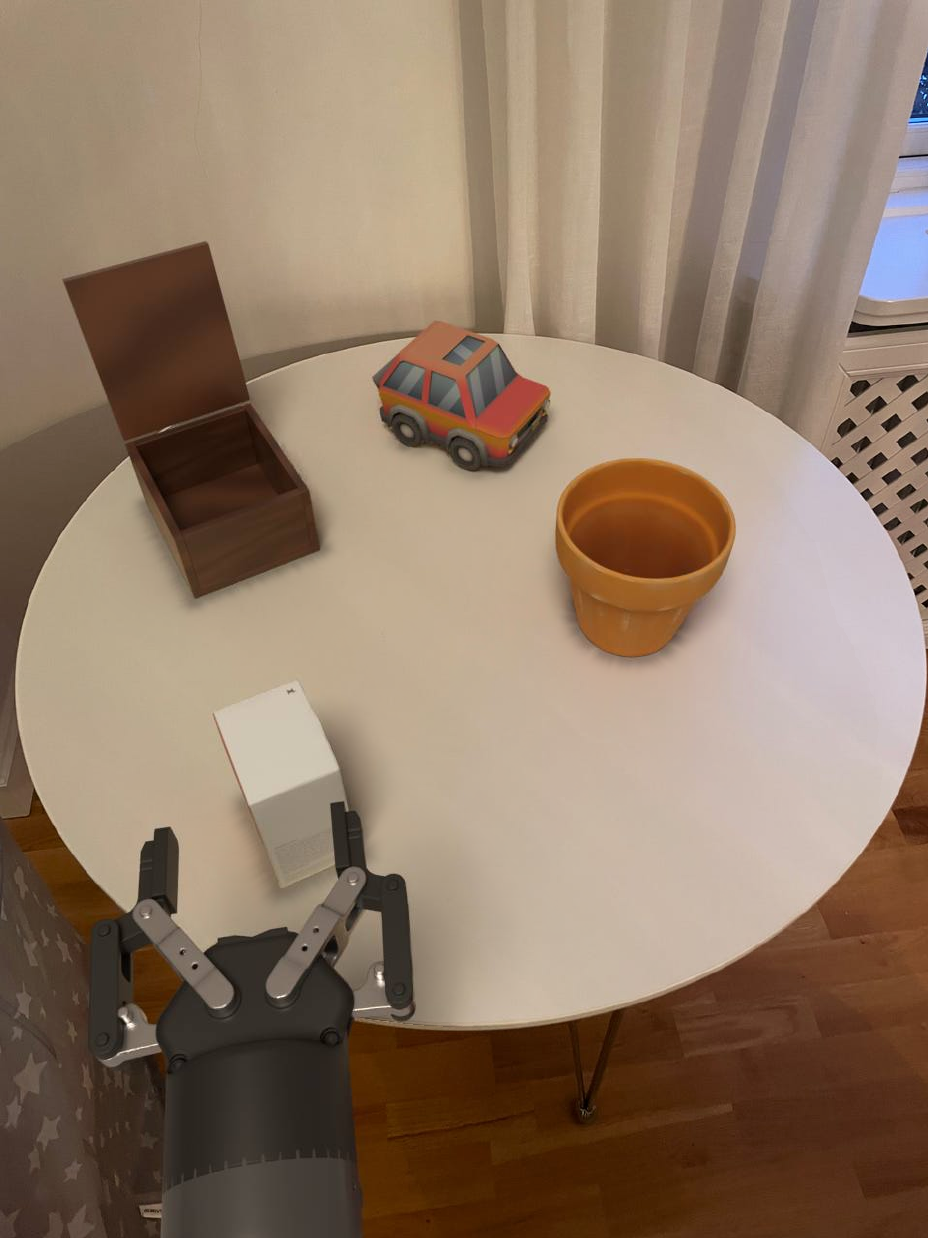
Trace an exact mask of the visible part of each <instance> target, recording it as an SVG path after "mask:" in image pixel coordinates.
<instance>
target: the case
mask: <svg viewBox="0 0 928 1238" xmlns="http://www.w3.org/2000/svg"><path fill="white" fill-rule="evenodd" d="M124 446H125V449H126V451H127V454H128V457H129V459H130V462H131V465H132V468H133V471H134V473H135V476H136V479H137V482H138V485H139V487H140V490H141V493H142V496H143V498H144V501H145V504H146V506H147V508H148V510H149V512H150V514H151V515H152V518H153V520H154V522H155V524H156V526H157V527H158V529H159V532H160V534H161V535H162V537H163V540H164V541H165V544H166V545H167V548H168V550H169V552H170V554H171V555H172V557H173V559H174V561H175V563H176V565H177V567H178V569H179V571H180V573H181V574H182V577H183V579H184V581H185V583H186V585H187V587H188V589H189V591H190V593H191V595H192V597H193V598H194V599H198V598H201V597H203V596H206V595H209V594H211V593H213V592H216V591H219V590H221V589H223V588H226V587H229V586H232V585H234V584H237V583H239V582H241V581H244V580H246V579H250V578H252V577H254V576H257V575H259V574H261V573H265V572H267V571H270V570H273V569H275V568H277V567H280V566H282V565H285V564H289V563H291V562H292V561H296V560H298V559H301V558H303V557H305V556H308V555H310V554H313V553H317V552H319V551H320V550H321V548H320V543H319V538H318V537H319V536H318V530H317V525H316V520H315V513H314V509H313V508H314V507H313V502H312V498H311V491H310V489H309V488H308V486H307V484H306V482H304V479H302V477H301V475H300V474H299V473H298V471H297V470H296V469H295V466H294V465H293V464H292V462H291V460H290V459H289V458H288V456H287V455H286V454H285V452H284V450H283V449H282V447H281V446H280V444H279V443H278V442H277V440H276V439H275V437H274V436H273V434H272V432H270V430H269V428H268V427H267V426H266V423H265V422H264V421H263V420H262V417H261V416H260V415H259V413H258V412H257V411H256V409H255V408H254V406H253V404H252V403H251V402H247V403H245V404H242V405H238V406H235V407H233V408H229V409H227V410H224V411H221V412H218V413H214V414H211V415H209V416H208V415H207V416H206V417H202V418H199V419H195V420H193V421H190V422H187V423H184V424H181V425H178V426H175V427H171V428H168V429H165V430H163V431H159V432H157V433H153V434H151V435H147V436H144V437H141V438H138V439H135V440H132V441H128V442H125V443H124Z"/></svg>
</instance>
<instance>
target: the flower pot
mask: <svg viewBox="0 0 928 1238" xmlns="http://www.w3.org/2000/svg"><path fill="white" fill-rule="evenodd" d="M554 532H555V533H554V535H555V538H554V541H555V543H554V544H555V553H556V556H557V559H558V560H557V561H558V562H559V565H560V567H561V568H562V570H563V571H564V573H565V575H566V576H567V577H568V579H569V585H570V588H571V594H572V600H573V604H574V608H575V614H576V619H577V622H578V626H579V628H580V630H581V632H582V633H583V635H584V636H585V637H586V638H587V639H588V640H589V641H590V642H591V643H592V644H593V645H595V646H596V648H599V649H601V650H602V651H604V652H606V653H610V654H612V655H616V656H619V657H628V658H630V657H631V658H632V657H633V658H634V657H635V658H636V657H643V656H648V655H651V654H653V653H656V652H657V651H659V650H661V649H663V648H664V647H665V646H666V645H667V644H668V643H670V641H671V640H672V638H673V637H674V636H675V634H676V633H677V631H678V630H679V628H680V627H681V626H682V624H683V622H684V621H685V619H686V617H687V616H688V614H689V612H690V611H691V610H692V608H693V606H694V605H695V604H696V602H697V601H698V600H700V599H701V598H703V597H704V596H705V595H707V594H708V593H709V592H710V591H711V590H712V589H713V588H715V586H716V585H717V583H719V581H720V579H721V577H722V576H723V573H724V571H725V569H726V566H727V564H728V561H729V558H730V555H731V552H732V550H733V546H734V542H735V539H736V534H737V533H736V532H737V524H736V518H735V515H734V512H733V509H732V507H731V505H730V503H729V502H728V500H727V498H726V497H725V495H724V494H723V493H722V492H721V491H720V490H719V489H718V488H717V486H715V485H714V484H713V483H712V482H711V481H709V480H708V479H706V478H705V477H704V476H703V475H700V474H699V473H697V472H695V471H693V470H691V469H690V468H687V467H684V466H681V465H679V464H676V463H672V462H670V461H665V460H660V459H653V458H642V457H634V458H633V457H631V458H619V459H615V460H614V459H613V460H609V461H606V462H601V463H599V464H597V465H594V466H592V467H589V468H588V469H586V470H584V471H582V472H581V473H580V474H578V475H577V476H576V477H574V478H573V479H572V480H571V481H569V484H567V485H566V486H565V488H564V489H563V491H562V493H561V495H560V497H559V500H558V502H557V506H556V516H555V530H554Z"/></svg>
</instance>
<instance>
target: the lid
mask: <svg viewBox="0 0 928 1238" xmlns="http://www.w3.org/2000/svg"><path fill="white" fill-rule="evenodd" d="M211 251H212V250H211V248H210V244H209V243H208V241H207V240H204V241H201V242H197V243H193V244H189V245H185V246H181V247H178V248H174V249H171V250H167V251H163V252H159V253H155V254H152V255H148V256H143V257H140V258H137V259H133V260H128V261H125V262H121V263H118V264H115V265H111V266H107V267H102V268H99V269H96V270H92V271H87V272H85V273H81V274H76V275H73V276H69V277H66V278H63V279H61V280H62V283H63V285H64V288H65V291H66V294H67V296H68V299H69V302H70V304H71V307H72V309H73V313H74V315H75V318H76V320H77V322H78V325H79V328H80V331H81V333H82V336H83V338H84V339H83V340H84V341H85V343H86V347H87V349H88V351H89V354H90V357H91V360H92V362H93V365H94V368H95V370H96V372H97V375H98V378H99V380H100V383H101V385H102V388H103V391H104V394H105V396H106V399H107V402H108V404H109V407H110V409H111V412H112V414H113V415H112V416H113V417H114V420H115V423H116V425H117V428H118V430H119V433H120V436H121V438H122V441H124V442H126V441H129V440H132V439H136V438H139V437H142V436H145V435H147V434H150V433H154V432H158V431H160V430H163V429H166V428H169V427H172V426H176V425H179V424H181V423H184V422H185V423H186V422H187V421H190V420H194V419H197V418H200V417H203V416H206V415H208V414H212V413H215V412H218V411H222V410H224V409H227V408H230V407H233V406H237V405H240V404H242V403H245V402H248V401H250V400H251V396H250V392H249V388H248V386H247V382H246V378H245V374H244V370H243V367H242V364H241V359H240V355H239V351H238V348H237V345H236V341H235V337H234V334H233V330H232V325H231V321H230V319H229V315H228V312H227V307H226V303H225V300H224V296H223V292H222V289H221V285H220V282H219V281H220V280H219V278H218V273H217V270H216V267H215V263H214V262H215V261H214V258H213V255H212V252H211Z"/></svg>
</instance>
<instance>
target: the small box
mask: <svg viewBox="0 0 928 1238" xmlns="http://www.w3.org/2000/svg"><path fill="white" fill-rule="evenodd" d="M212 716H213V719H214V722H215V725H216V727H217V732H218V734H219V736H220V739H221V742H222V745H223V747H224V750H225V752H226V755H227V758H228V760H229V763H230V766H231V768H232V772H233V774H234V776H235V778H236V780H237V783H238V786H239V788H240V791H241V793H242V796H243V798H244V801H245V803H246V806H247V808H248V811H249V813H250V816H251V818H252V821H253V823H254V826H255V829H256V832H257V833H258V836H259V839H260V841H261V844H262V846H263V848H264V851H265V853H266V856H267V858H268V861H269V863H270V866H271V869H272V871H273V874H274V876H275V879H276V881H277V885H278V887H279V888H280V889H285V888H287V887H290V886H292V885H295V884H296V883H298V882H300V881H303V880H306V879H308V878H310V877H312V876H314V875H316V874H318V873H320V872H323V871H325V870H328V869H331V868H332V867H335V857H334V845H333V833H332V821H331V809H330V803H333V802H340V801H344V803H345V807H346V812H347V811H350V809H349V808H350V807H349V804H348V799H347V794H346V789H345V785H344V781H343V777H342V772H341V768H340V764H339V762H338V760H337V758H336V756H335V754H334V751H333V749H332V747H331V745H330V742H329V740H328V738H327V735H326V733H325V731H324V729H323V726H322V723H321V720H320V719H319V717H318V715H317V713H316V710H315V709H314V707H313V706H312V703H311V702H310V700H309V697H308V696H307V693H306V691H305V689H304V687H303V685H302V683H301V681H300V680H299V679H295V680H292V681H291V682H288V683H284V684H282V685H279V686H276V687H274V688H271V689H269V690H266V691H264V692H260V693H258V694H256V695H254V696H251V697H248V698H245V699H242V700H240V701H238V702H236V703H232V704H230V705H228V706H225V707H223V708H220V709H217V710H215V711H213V712H212Z"/></svg>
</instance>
